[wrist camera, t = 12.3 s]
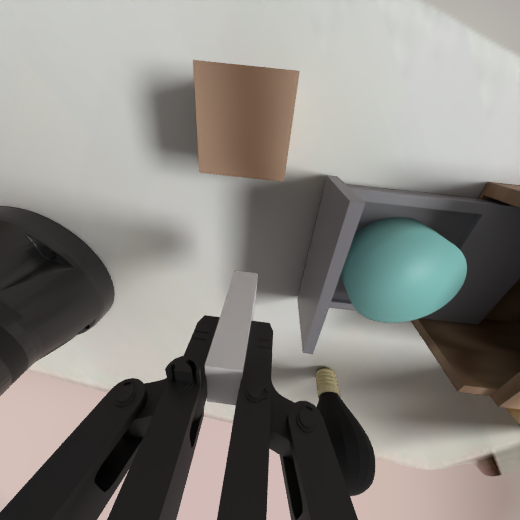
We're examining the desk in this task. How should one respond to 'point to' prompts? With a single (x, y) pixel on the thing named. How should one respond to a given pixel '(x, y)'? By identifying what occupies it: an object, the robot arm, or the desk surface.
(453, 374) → the box
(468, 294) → the tray
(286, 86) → the block
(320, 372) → the light bulb
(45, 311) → the robot arm
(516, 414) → the tan piece
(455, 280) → the teal rounded puck
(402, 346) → the desk surface
